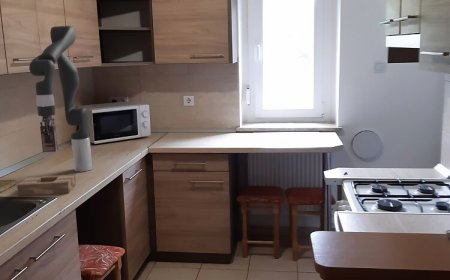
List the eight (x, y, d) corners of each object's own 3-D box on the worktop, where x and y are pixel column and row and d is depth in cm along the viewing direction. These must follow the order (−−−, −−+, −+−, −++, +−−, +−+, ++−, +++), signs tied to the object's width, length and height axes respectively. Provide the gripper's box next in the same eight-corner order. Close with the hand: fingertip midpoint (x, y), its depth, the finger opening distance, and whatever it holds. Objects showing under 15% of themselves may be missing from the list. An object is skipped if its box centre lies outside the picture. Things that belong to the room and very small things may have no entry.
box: (58, 150, 222) (55, 124, 220) (55, 152, 218) (53, 125, 216) (44, 150, 222) (42, 125, 219) (42, 152, 217) (39, 126, 215)
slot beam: (28, 187, 227) (27, 177, 226) (76, 184, 228) (75, 174, 227) (18, 196, 213) (17, 185, 212) (68, 193, 214) (67, 182, 214)
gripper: (41, 103, 223) (45, 140, 226) (32, 106, 209) (36, 145, 212) (58, 103, 223) (61, 139, 226) (49, 105, 209) (53, 144, 212)
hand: (49, 142), depth 219 cm, fingers closed on box, 4 cm apart
